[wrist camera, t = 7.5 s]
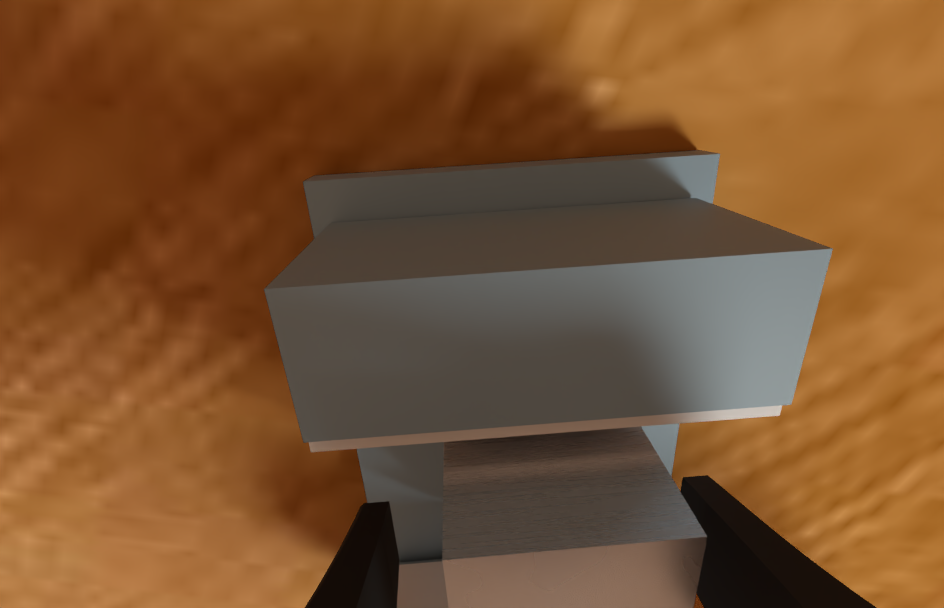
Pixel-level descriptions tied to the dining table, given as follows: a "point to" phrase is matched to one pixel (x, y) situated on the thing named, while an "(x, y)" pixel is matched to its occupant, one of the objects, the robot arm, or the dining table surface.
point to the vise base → (532, 313)
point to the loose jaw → (422, 585)
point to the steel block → (566, 524)
